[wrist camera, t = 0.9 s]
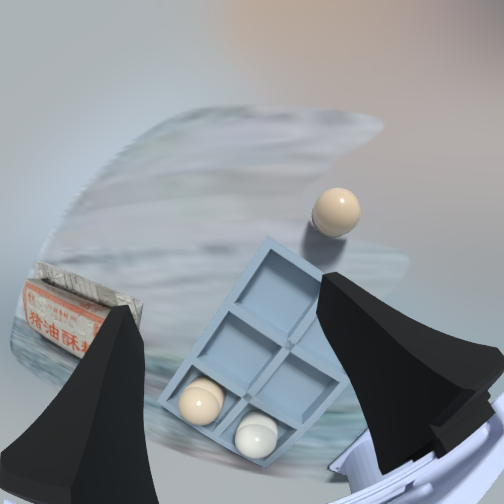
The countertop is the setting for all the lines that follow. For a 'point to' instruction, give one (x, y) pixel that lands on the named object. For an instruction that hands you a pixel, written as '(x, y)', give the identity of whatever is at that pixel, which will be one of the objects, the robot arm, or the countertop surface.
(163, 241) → the countertop surface
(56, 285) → the packaged product
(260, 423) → the seated egg
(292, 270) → the egg carton
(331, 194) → the loose egg
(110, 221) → the countertop surface
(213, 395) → the seated egg
